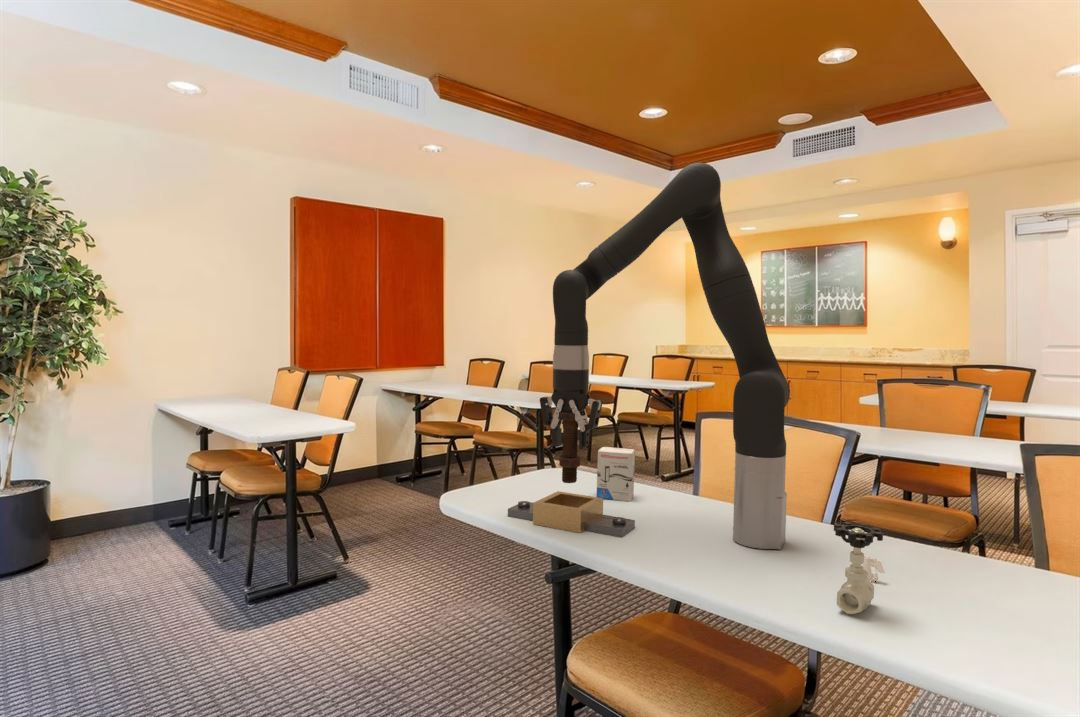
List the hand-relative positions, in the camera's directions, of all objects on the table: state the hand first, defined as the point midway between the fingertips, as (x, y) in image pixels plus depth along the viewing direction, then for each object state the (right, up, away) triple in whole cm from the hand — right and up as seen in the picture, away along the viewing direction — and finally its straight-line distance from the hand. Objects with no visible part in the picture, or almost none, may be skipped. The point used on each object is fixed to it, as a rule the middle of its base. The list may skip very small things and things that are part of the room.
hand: (569, 447), depth 131 cm
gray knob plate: (+8, -16, -4) cm, 18 cm away
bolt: (0, -8, 0) cm, 8 cm away
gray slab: (-8, -16, +5) cm, 18 cm away
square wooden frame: (0, -16, +1) cm, 16 cm away
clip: (+47, -18, -29) cm, 58 cm away
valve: (+40, -18, -39) cm, 59 cm away
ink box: (+12, -15, +20) cm, 28 cm away
